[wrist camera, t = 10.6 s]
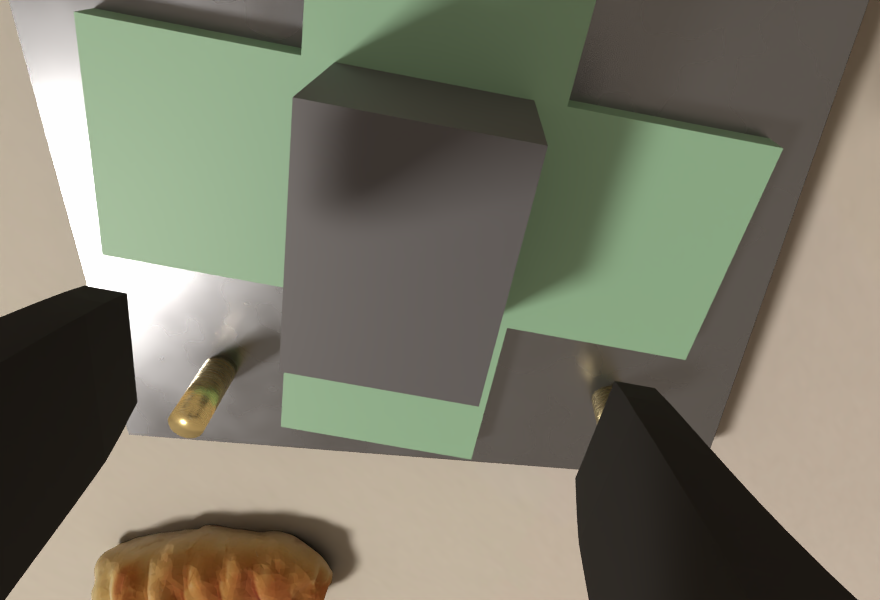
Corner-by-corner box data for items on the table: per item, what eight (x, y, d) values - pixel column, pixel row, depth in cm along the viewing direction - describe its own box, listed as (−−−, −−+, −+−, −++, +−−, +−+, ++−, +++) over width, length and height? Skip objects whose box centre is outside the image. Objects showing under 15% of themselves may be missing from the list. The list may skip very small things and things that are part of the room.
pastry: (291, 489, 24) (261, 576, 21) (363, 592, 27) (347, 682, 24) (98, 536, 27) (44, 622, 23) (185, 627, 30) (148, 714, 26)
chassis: (149, 405, 22) (88, 491, 19) (-15, -256, 13) (-191, -324, 10) (686, 446, 22) (724, 543, 18) (904, -217, 13) (1062, -276, 9)
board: (131, 382, 20) (50, 485, 16) (63, -280, 12) (-131, -379, 8) (622, 467, 20) (652, 586, 17) (880, -110, 12) (1052, -131, 9)
